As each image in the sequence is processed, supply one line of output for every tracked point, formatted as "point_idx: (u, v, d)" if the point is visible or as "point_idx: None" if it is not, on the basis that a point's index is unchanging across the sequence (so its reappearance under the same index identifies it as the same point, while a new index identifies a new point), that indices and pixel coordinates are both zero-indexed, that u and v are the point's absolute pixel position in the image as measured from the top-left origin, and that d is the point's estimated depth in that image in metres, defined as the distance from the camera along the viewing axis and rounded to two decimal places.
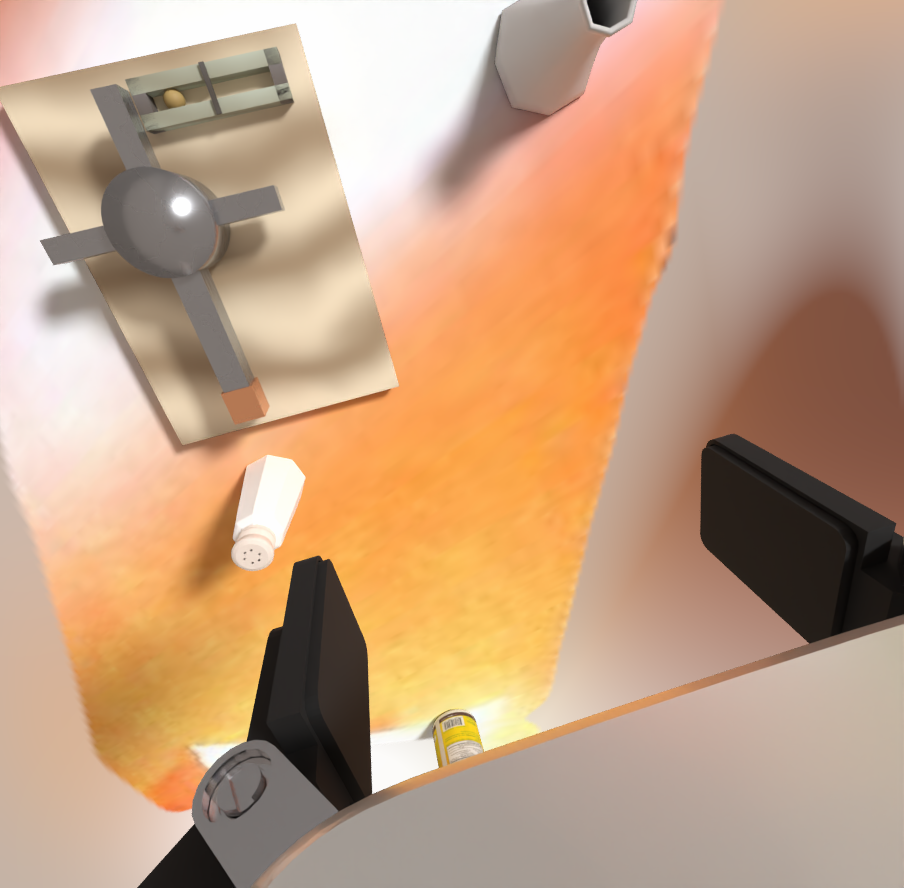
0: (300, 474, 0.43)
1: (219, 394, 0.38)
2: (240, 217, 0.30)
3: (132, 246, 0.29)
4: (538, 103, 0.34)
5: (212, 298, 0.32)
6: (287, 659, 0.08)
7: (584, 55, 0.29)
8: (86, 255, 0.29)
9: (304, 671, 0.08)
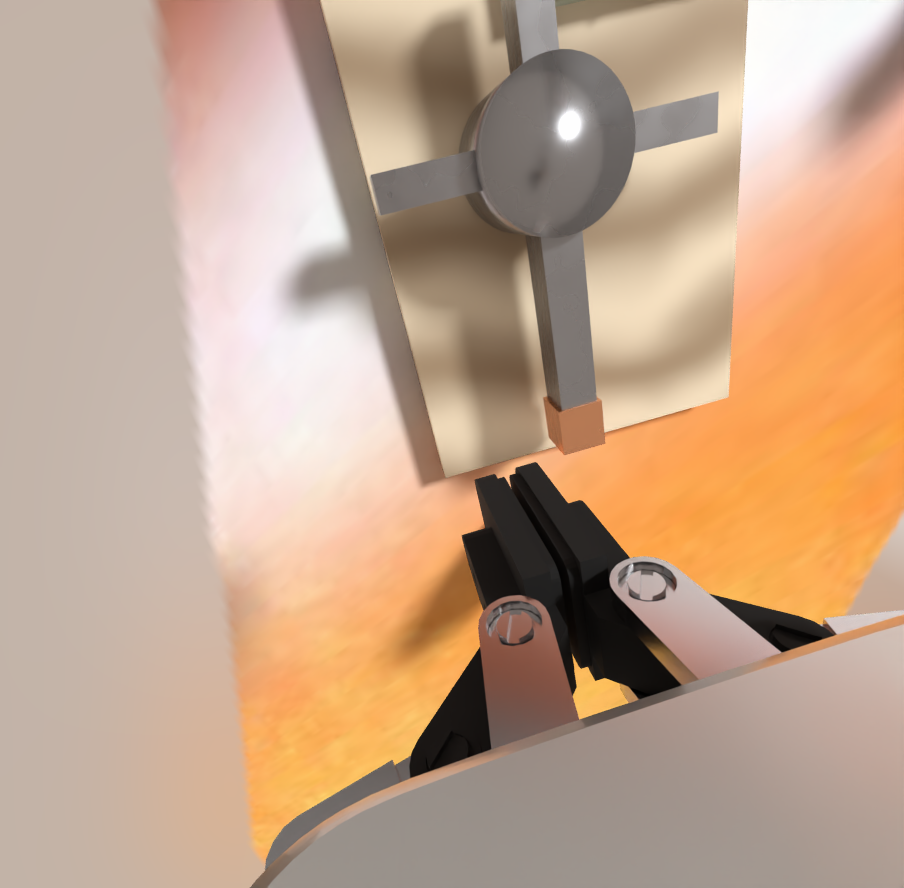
0: None
1: (507, 409, 0.27)
2: (657, 144, 0.19)
3: (513, 185, 0.18)
4: None
5: (584, 271, 0.21)
6: (515, 540, 0.09)
7: None
8: (430, 200, 0.19)
9: (536, 547, 0.09)
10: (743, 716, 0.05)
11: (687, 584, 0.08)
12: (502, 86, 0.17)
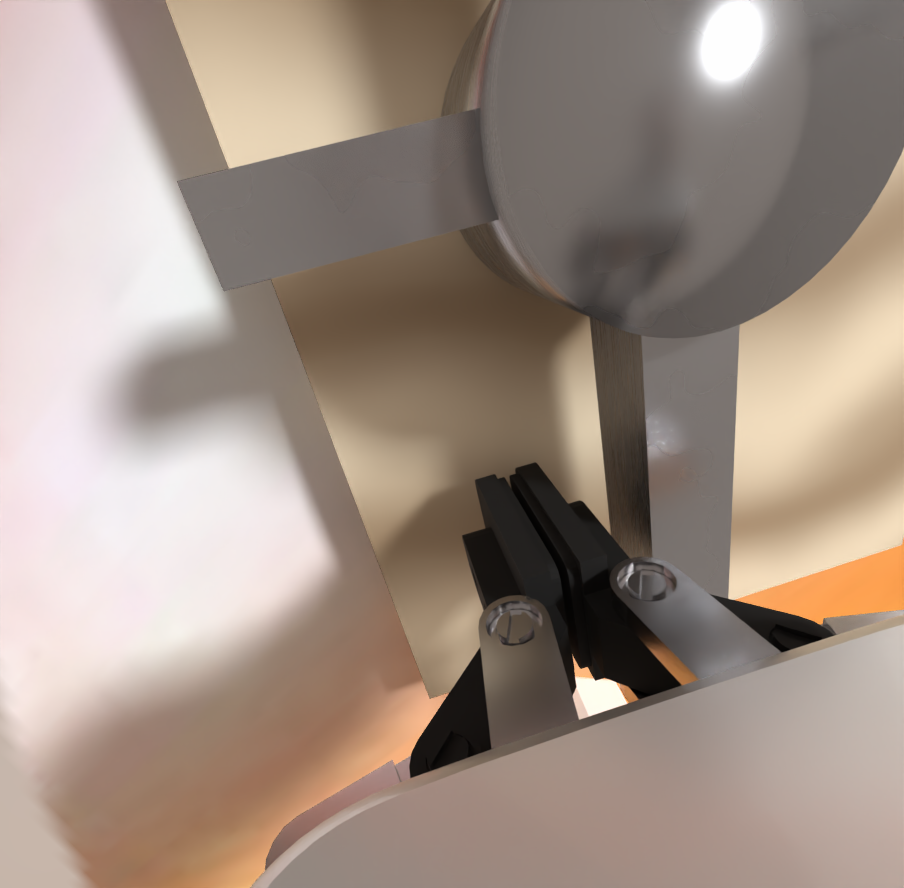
0: None
1: None
2: None
3: (588, 206, 0.06)
4: None
5: (729, 396, 0.09)
6: (515, 540, 0.09)
7: None
8: (359, 249, 0.07)
9: (536, 547, 0.09)
10: (743, 716, 0.05)
11: (687, 584, 0.08)
12: None
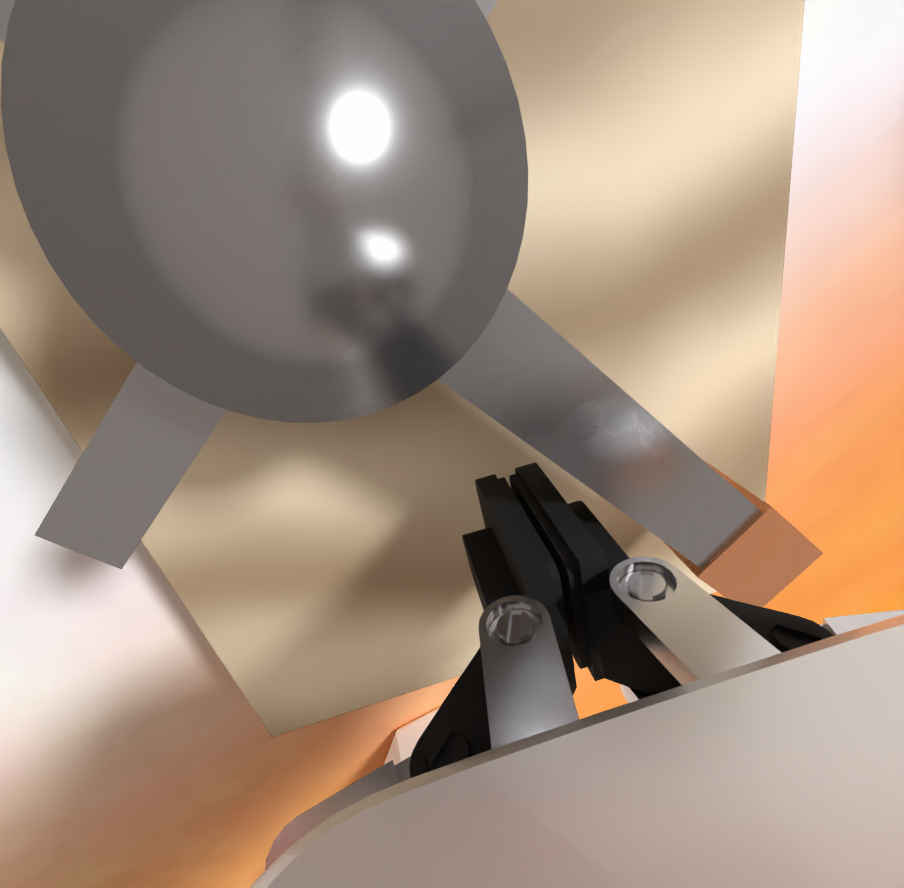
0: None
1: (367, 632, 0.15)
2: None
3: (267, 358, 0.07)
4: None
5: (570, 345, 0.08)
6: (515, 540, 0.09)
7: None
8: (171, 483, 0.08)
9: (536, 547, 0.09)
10: (743, 716, 0.05)
11: (687, 584, 0.08)
12: (23, 193, 0.06)
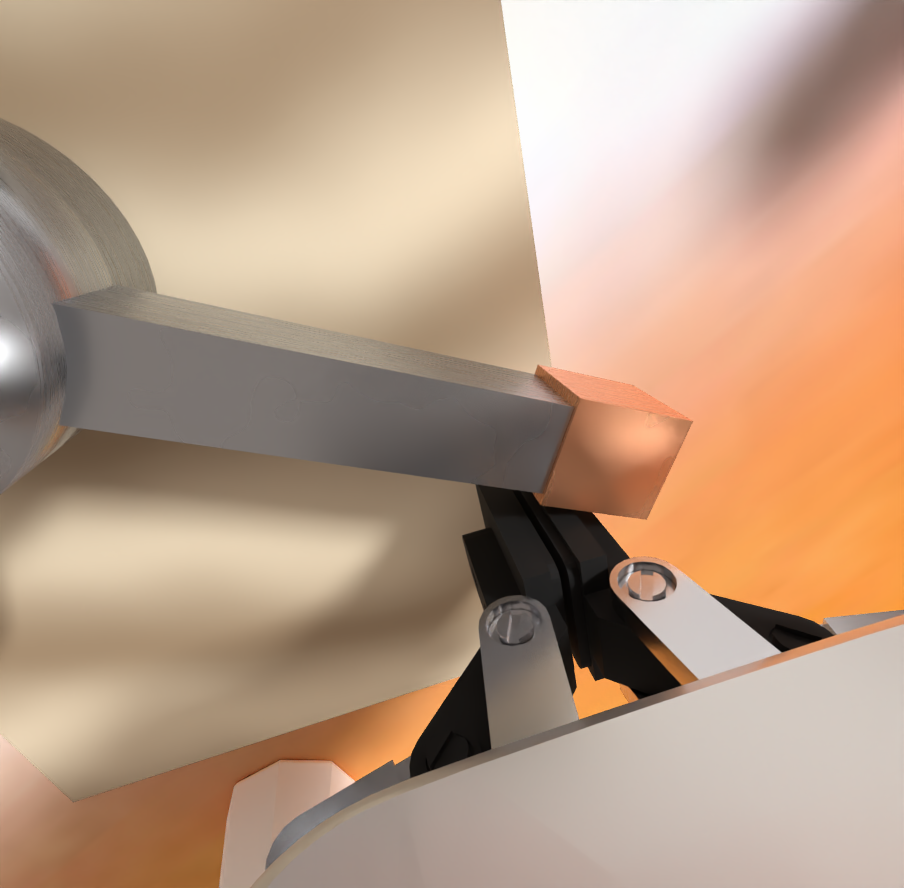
0: None
1: (157, 699, 0.15)
2: None
3: None
4: None
5: (203, 329, 0.07)
6: (515, 540, 0.09)
7: None
8: None
9: (536, 547, 0.09)
10: (743, 716, 0.05)
11: (687, 584, 0.08)
12: None
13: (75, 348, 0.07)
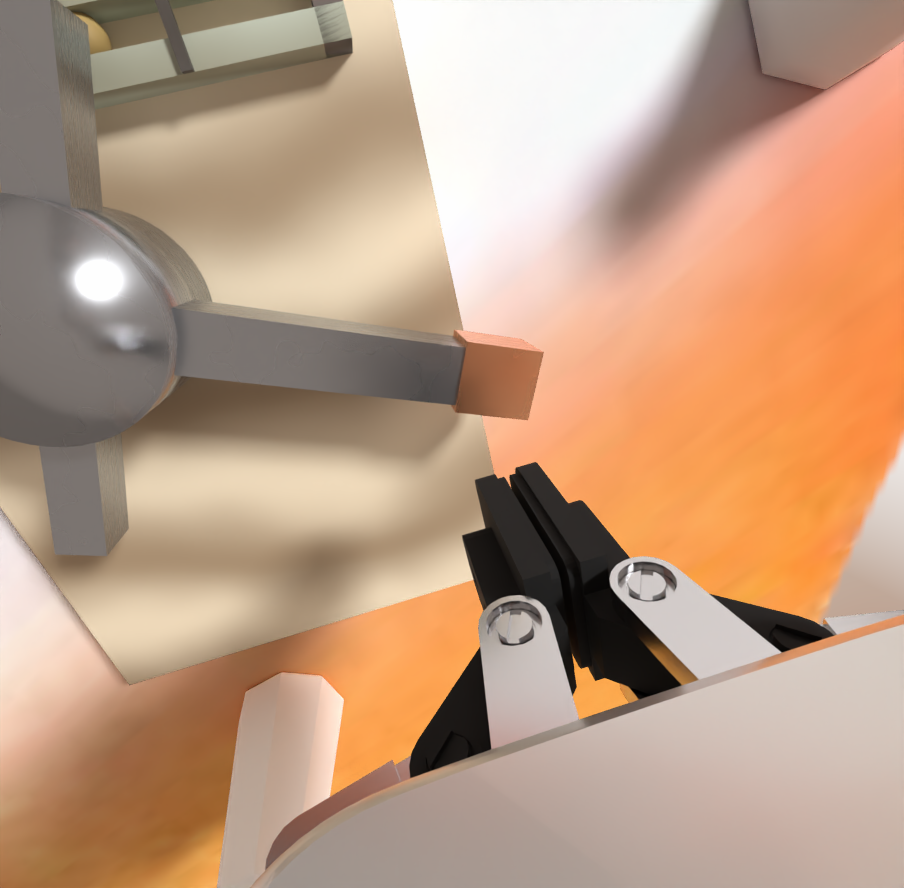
0: (335, 699, 0.25)
1: (195, 601, 0.21)
2: (58, 133, 0.11)
3: (76, 411, 0.12)
4: (825, 63, 0.17)
5: (247, 316, 0.13)
6: (515, 540, 0.09)
7: None
8: (98, 498, 0.14)
9: (536, 547, 0.09)
10: (743, 716, 0.05)
11: (687, 584, 0.08)
12: None
13: (182, 331, 0.13)
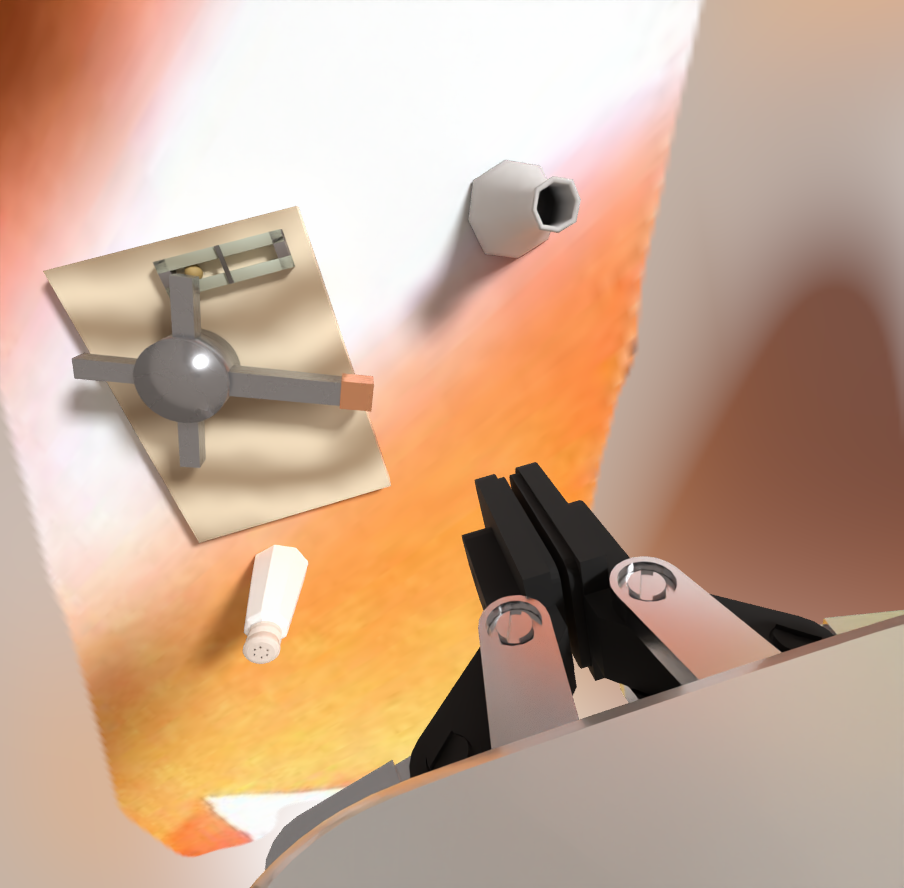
0: (303, 560, 0.48)
1: (231, 499, 0.43)
2: (192, 317, 0.33)
3: (194, 409, 0.35)
4: (507, 252, 0.39)
5: (255, 373, 0.35)
6: (515, 540, 0.09)
7: (542, 230, 0.34)
8: (197, 443, 0.37)
9: (536, 547, 0.09)
10: (743, 716, 0.05)
11: (687, 584, 0.08)
12: (146, 404, 0.34)
13: (231, 380, 0.35)
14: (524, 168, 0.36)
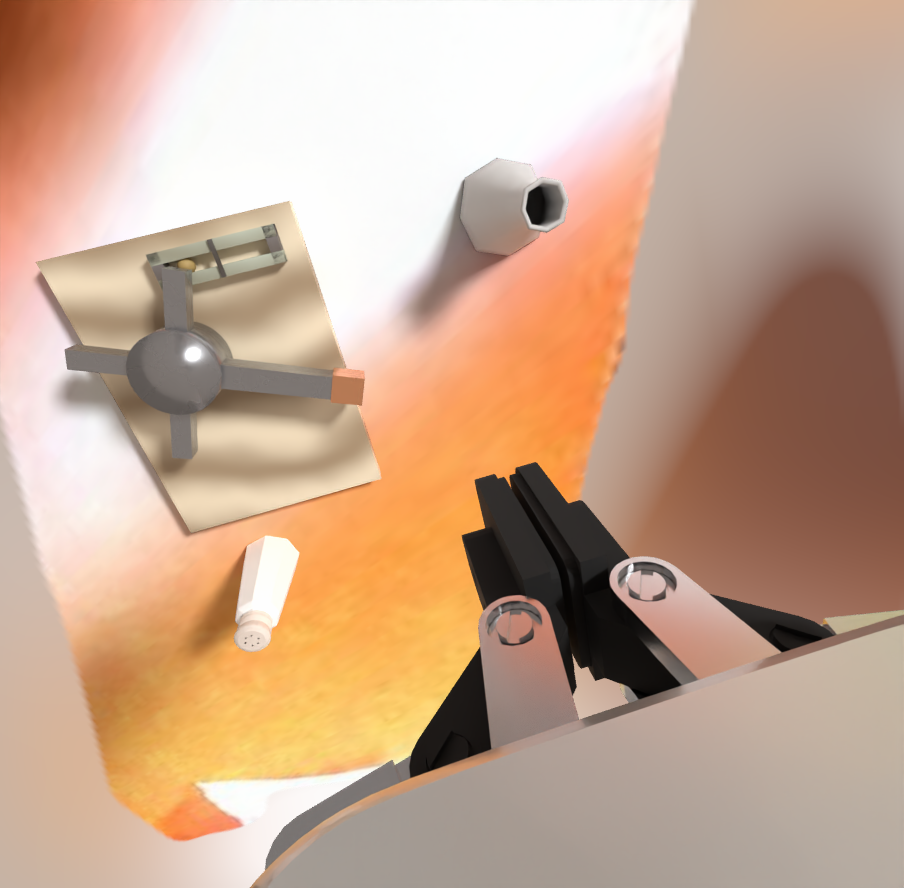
0: (294, 551, 0.49)
1: (223, 491, 0.43)
2: (184, 310, 0.33)
3: (186, 402, 0.35)
4: (498, 250, 0.40)
5: (247, 367, 0.36)
6: (515, 540, 0.09)
7: (531, 229, 0.35)
8: (190, 435, 0.37)
9: (536, 547, 0.09)
10: (743, 716, 0.05)
11: (687, 584, 0.08)
12: (139, 395, 0.34)
13: (224, 372, 0.35)
14: (515, 167, 0.36)
